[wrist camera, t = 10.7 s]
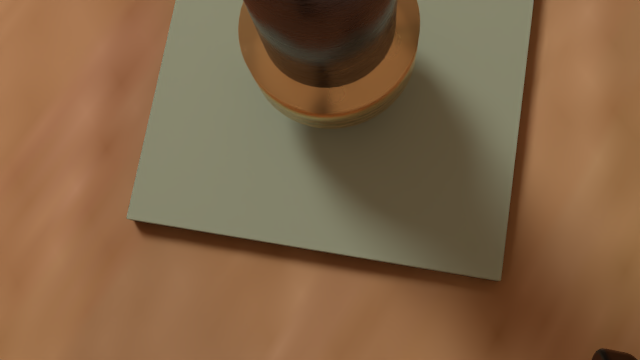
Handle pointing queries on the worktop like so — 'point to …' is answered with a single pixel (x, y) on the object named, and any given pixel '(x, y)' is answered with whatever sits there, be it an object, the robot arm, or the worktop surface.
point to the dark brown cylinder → (330, 56)
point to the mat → (344, 146)
